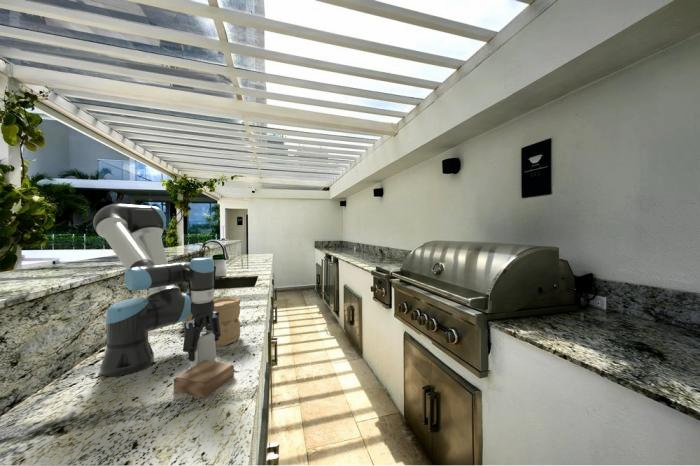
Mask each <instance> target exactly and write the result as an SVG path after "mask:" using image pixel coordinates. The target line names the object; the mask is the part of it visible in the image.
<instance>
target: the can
mask: <svg viewBox="0 0 700 466" xmlns="http://www.w3.org/2000/svg"><path fill="white" fill-rule="evenodd" d="M208 333H209V334H208ZM192 348H193V347H192ZM196 350H197V351H198V364H199V363H201V362H203V361H204V360H206V361H213V362H216V361H215V360H216V358H215V350H216V348H215V335H214V334H213V333H212V331H211V330H206V329H203V330H202V331H201V333H200V336H199V340H198V344H197V347H196Z"/></svg>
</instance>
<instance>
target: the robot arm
mask: <svg viewBox="0 0 700 466" xmlns="http://www.w3.org/2000/svg"><path fill="white" fill-rule="evenodd" d="M92 221H93V222H92V223H93V224H92V225H93V228H94V231H95V232H96V234H97V235H98V236H99V237H101V238H104V240H105V241H106V242H107V244H108V245H109V246H110V248H111V249H112V251H113V253H114V254H115V255H116V256H117V258H118V260H119V261H120V263H122V265H123V266H124V268H125V270H126V271H125V272H124V277H123V279H124V280H123V281H124V284H125V288H126V289H128V290H129V291H142V290H144V291H145V290H149V293H148V295H147V296H146V297H144V296H143V297H141V296H140V297H136V298H129V299H125V300H121V301H119V302H115V303H113V304H112V305H110V306H108V308H107V310H106V318H105V326H106V330H105V331H106V350H105V352H104V355H103V358H102V361H101V363H100V367H99V372H100V375H102V376H103V377H118V376H125V375H128V374H133V373H135V372H139V371H141V370H143V369H145V368H147V367H149V366H150V365H152V364H153V362H154V361H155V353H154V350H153V348H152V346H151V344H150V341H149V332H152V331H155V330H159V329H163V328H165V327H169V326H173V325H174V326H175V325H176V324H179V323H182V321H184V320H185V319H186V318H187V317H188V315H189V313H190V309H191V313H192V315H193V316H192V320H191V321H189V322H185V323H184V326H185V328H184V337H183V344H182V345H183V346H182V351H183V352H185V353H188V362H189V369H191V368H192V367H194V366H196V365H197V364H198V351H197V350H196V347H197V344H198V340H199V336H200V333H201V331H202V330H204V328H205V330H211V331H212V333H213V334H214V335H215V359H216V358H217V357H216V353H217V352H216V348H217V347H216V341H218V340H219V338H218V337H220V336H221V333H220V325H219V312H213V310H214V300H213V299H215V264H214V259H213V258H211V257H194V258H191V260H190V262H189V261H184V260H183V261H176V262H174V263H169V262H168V258H167V255H166V250H165V247H164V244H163V240H162V237H161V236H162V235H163V233H164V230H165V229H166V227H167V223H166V222H167V217H166V215H165V213H164V211H163V210H162V209H161V208H160V207H158V206H155V205H154V206H153V205H148V204H145V205H141V204H127V203H111V204H108V205H105V206H104V207H102V208H101V209H99V210H98V211H97V213H95V216H94V217H93V220H92ZM182 283H183V284H184V283H188V284H190V288H189V289H190V290H189V291H190V295H191V301H190V298H189V296H188V295H189V294H188V293H185V292H182V291H181V288H180V287H179V286H177V284H182ZM191 302H192V303H191ZM208 334H209V333H208ZM192 347H193V348H192Z"/></svg>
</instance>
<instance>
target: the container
mask: <svg viewBox="0 0 700 466" xmlns="http://www.w3.org/2000/svg"><path fill="white" fill-rule="evenodd" d="M213 300H214V310H213V312H219V325H220V333H221V336H220V337H218V338H219V340H218V341H216V348H218V347H225V346H227V345H229V344H232V343H236V341H237V339H239V338H240V337H241V322H240V319H239V318H240V314H241V305H240V304H241V299H240V297H238V296H223V297H222V296H221V297H217V298H214V299H213Z"/></svg>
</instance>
